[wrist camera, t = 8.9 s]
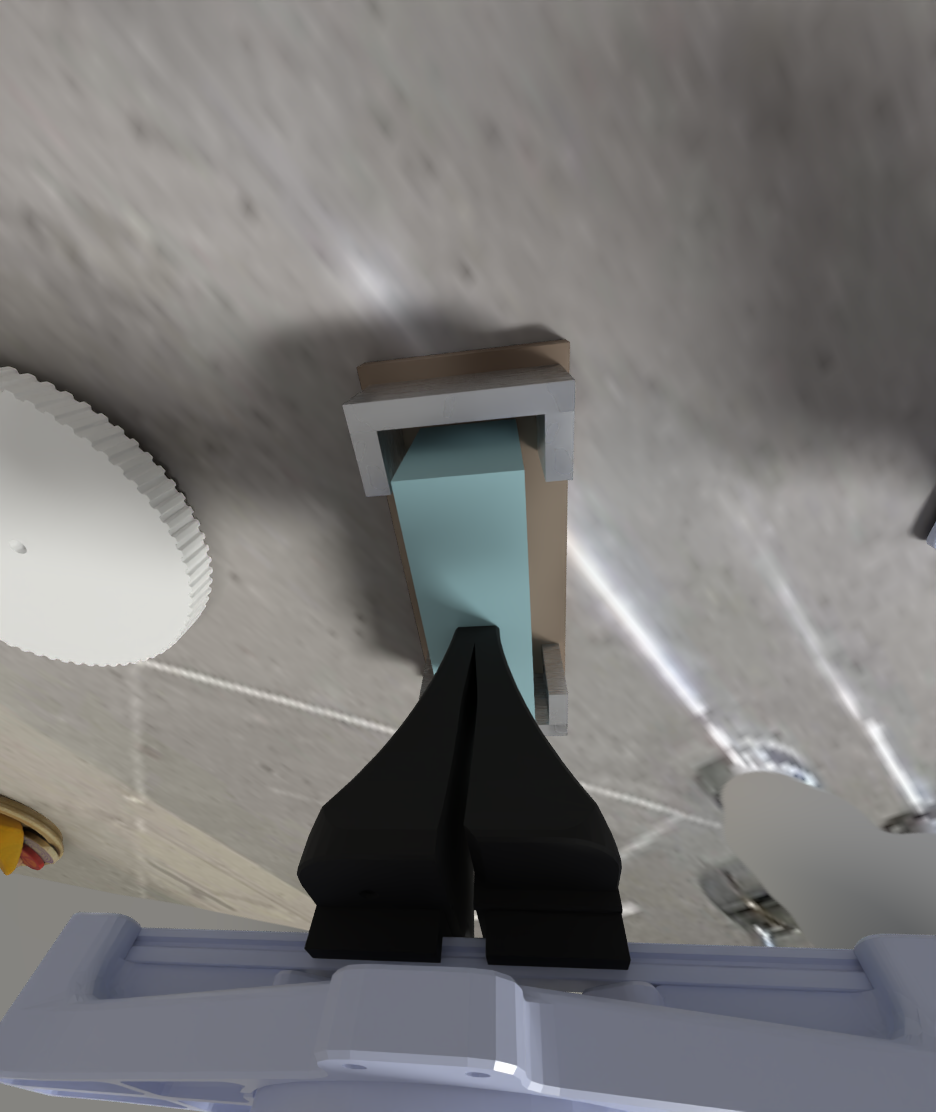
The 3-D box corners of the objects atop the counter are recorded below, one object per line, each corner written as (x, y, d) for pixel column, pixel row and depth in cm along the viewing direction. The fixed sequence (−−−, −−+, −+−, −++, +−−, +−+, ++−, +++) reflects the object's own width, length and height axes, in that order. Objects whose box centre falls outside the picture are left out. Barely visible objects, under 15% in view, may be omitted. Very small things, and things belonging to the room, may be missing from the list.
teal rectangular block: (515, 418, 15) (524, 469, 10) (528, 662, 21) (536, 756, 17) (420, 428, 15) (390, 481, 11) (460, 665, 21) (452, 758, 17)
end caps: (560, 363, 14) (575, 379, 11) (558, 683, 22) (567, 735, 19) (369, 385, 14) (342, 405, 12) (436, 687, 22) (429, 738, 20)
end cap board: (565, 339, 14) (569, 342, 13) (561, 676, 23) (564, 691, 22) (364, 363, 15) (356, 367, 14) (435, 680, 23) (432, 694, 23)
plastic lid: (-81, 257, 14) (-184, 251, 12) (278, 522, 19) (250, 551, 17) (-127, 515, 20) (-203, 542, 18) (157, 668, 25) (125, 704, 22)
